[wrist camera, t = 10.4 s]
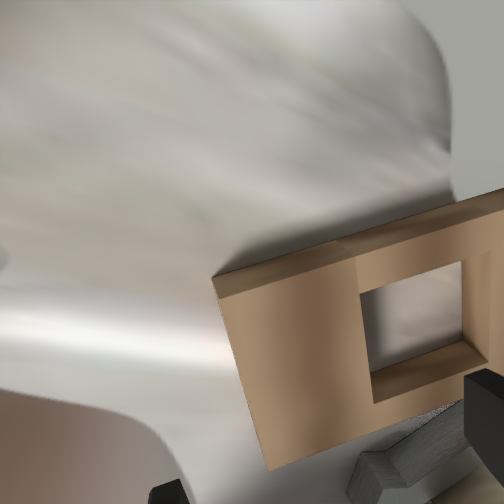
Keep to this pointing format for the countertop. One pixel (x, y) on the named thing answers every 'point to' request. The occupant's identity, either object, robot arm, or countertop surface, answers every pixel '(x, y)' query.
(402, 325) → the countertop surface
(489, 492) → the birch axle
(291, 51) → the countertop surface
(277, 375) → the wooden board with cutouts
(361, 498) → the steel V-block
